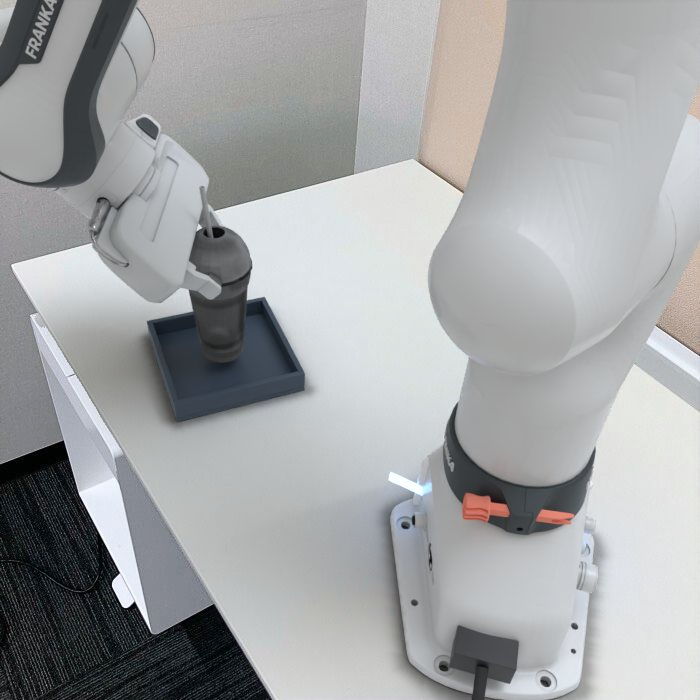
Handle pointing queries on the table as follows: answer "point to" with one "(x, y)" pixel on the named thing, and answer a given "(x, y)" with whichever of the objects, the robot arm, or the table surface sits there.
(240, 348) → the beverage cup
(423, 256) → the table surface
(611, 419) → the table surface
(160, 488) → the table surface
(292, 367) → the tray
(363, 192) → the table surface
